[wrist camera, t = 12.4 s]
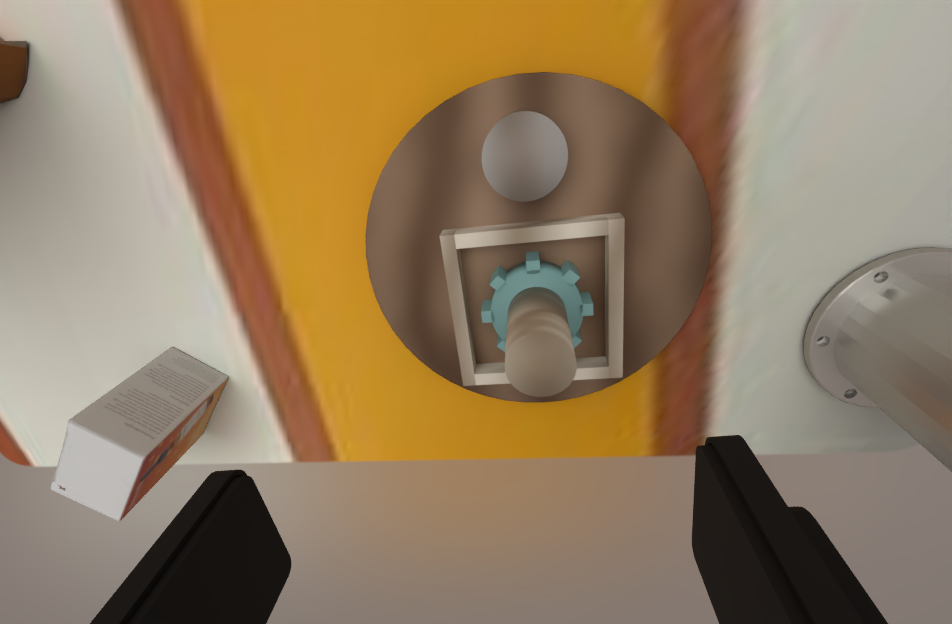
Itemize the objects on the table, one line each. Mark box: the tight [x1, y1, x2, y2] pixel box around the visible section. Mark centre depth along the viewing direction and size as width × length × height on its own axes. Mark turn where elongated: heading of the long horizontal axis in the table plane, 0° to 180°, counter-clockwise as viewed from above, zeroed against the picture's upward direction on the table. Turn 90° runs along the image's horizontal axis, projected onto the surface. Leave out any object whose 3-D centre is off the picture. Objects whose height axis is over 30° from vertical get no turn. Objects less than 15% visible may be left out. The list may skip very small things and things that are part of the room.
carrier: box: [366, 72, 712, 402], centre depth 32 cm, size 24×24×4 cm
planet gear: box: [481, 251, 593, 397], centre depth 30 cm, size 8×8×9 cm
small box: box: [50, 347, 229, 521], centre depth 38 cm, size 8×6×10 cm
